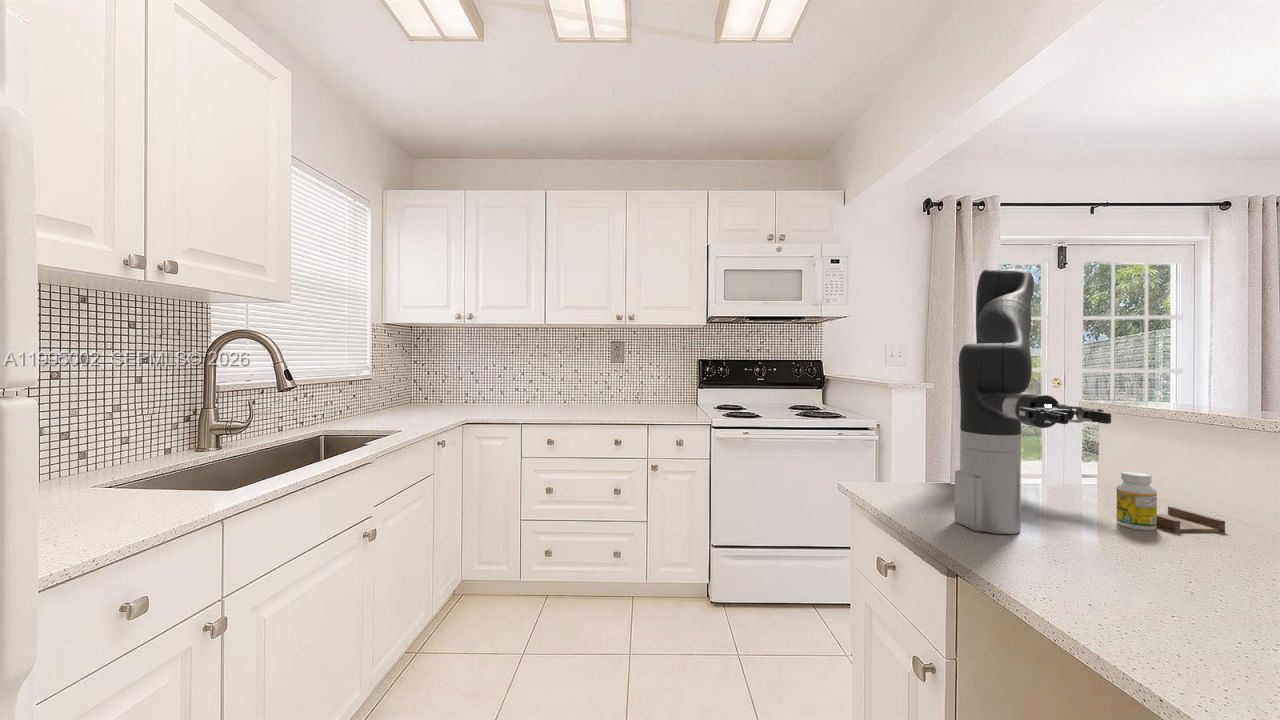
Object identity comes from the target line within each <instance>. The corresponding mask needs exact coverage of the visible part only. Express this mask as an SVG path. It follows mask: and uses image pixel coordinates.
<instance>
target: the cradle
mask: <svg viewBox="0 0 1280 720" xmlns="http://www.w3.org/2000/svg"><path fill="white" fill-rule="evenodd" d="M1157 528H1161V529H1163V530H1166V531H1168V532H1171V533H1226V520H1224V519H1219V518H1215V517H1212V516H1208V515H1205V514H1201V513H1197V512H1195V511H1191V510H1186V509H1184V508H1180V507H1176V506H1167V513H1157Z"/></svg>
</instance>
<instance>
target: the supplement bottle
mask: <svg viewBox="0 0 1280 720" xmlns="http://www.w3.org/2000/svg"><path fill="white" fill-rule="evenodd" d="M1120 474H1121V476H1120V479H1121V480H1122V481H1123V482H1120V483H1118V484H1117V486H1116V524H1118V525H1119V526H1121V527H1126V528H1129V529H1132V530H1140V531H1148V532H1149V531H1150V532H1151V531H1155V530H1157V528H1158V527H1157V514H1158V509H1157V507H1158V497H1157V495H1158V493H1157V489H1156V488H1155V487H1153V486H1152V485H1150V484H1152V475H1151V474H1148V473H1144V472H1138V471H1137V472H1136V471H1121V473H1120Z"/></svg>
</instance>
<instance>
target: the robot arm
mask: <svg viewBox="0 0 1280 720" xmlns="http://www.w3.org/2000/svg"><path fill="white" fill-rule="evenodd" d="M1034 279H1035V278H1034V277H1033V274H1032V273H1031V272H1030V271H1028V270H1025V269H1020V268H1019V269H1016V268H1015V269H1014V268H1012V269H1011V268H987V269H984V270H983V271H982V272H981V273H980V275H979V277H978V282H977V286H976V296H975V333H976V343H967V344H964V345H963V346H962V347H961V349H960V352H959V355H958V379H959V395H960V396H959V397H960V424H959V426H960V428H959V433H960V434H959V435H960V436H959V438H960V439H959V469H958V470H957V469H956V470H955V472H954V522H956V523H957V524H960V525H962V526H964V527H967V528H968V529H970V530H972V531H974V532H982V533H983V532H984V533H989V534H999V535H1014V534H1018V533H1020V532H1021V527H1022V525H1021V523H1022V522H1021V521H1022V517H1021V516H1022V515H1021V510H1022V508H1021V507H1022V506H1021V505H1022V503H1021V502H1022V501H1021V500H1022V498H1021V497H1022V493H1021V492H1022V491H1021V490H1022V488H1021V487H1022V483H1021V481H1022V479H1021V478H1022V474H1021V473H1022V462H1021V461H1022V459H1021V458H1022V457H1021V456H1022V453H1021V452H1022V425H1026V426H1028V427H1029V426H1030V427H1035V428H1040V429H1047V428H1050V427H1053V426H1055V424H1061V425H1068V423H1075V424H1076V423H1077V424H1081V423H1084V422H1090V423H1099V424H1104V425H1109V424H1111V423H1112V414H1111V413H1110V412H1105V411H1104V409H1102V408H1092V407H1086V406H1082V405H1081V406H1080V405H1079V406H1076V405H1068V404H1067V403H1066V404H1065V403H1059V400H1057V399H1056V398H1054V397H1053V396H1051V395H1048V394H1041V393H1033V392H1026V390H1027V389H1028V387H1029V385H1030V383H1031V379H1032V372H1033V371H1032V367H1033V364H1032V357H1031V356H1032V355H1031V349H1030V337H1031V336H1030V335H1031V329H1032V312H1031V311H1032V309H1031V306H1032V305H1031V304H1032V300H1033V296H1034V290H1035V280H1034ZM1075 416H1076V417H1075ZM1074 418H1076V419H1074Z"/></svg>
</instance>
